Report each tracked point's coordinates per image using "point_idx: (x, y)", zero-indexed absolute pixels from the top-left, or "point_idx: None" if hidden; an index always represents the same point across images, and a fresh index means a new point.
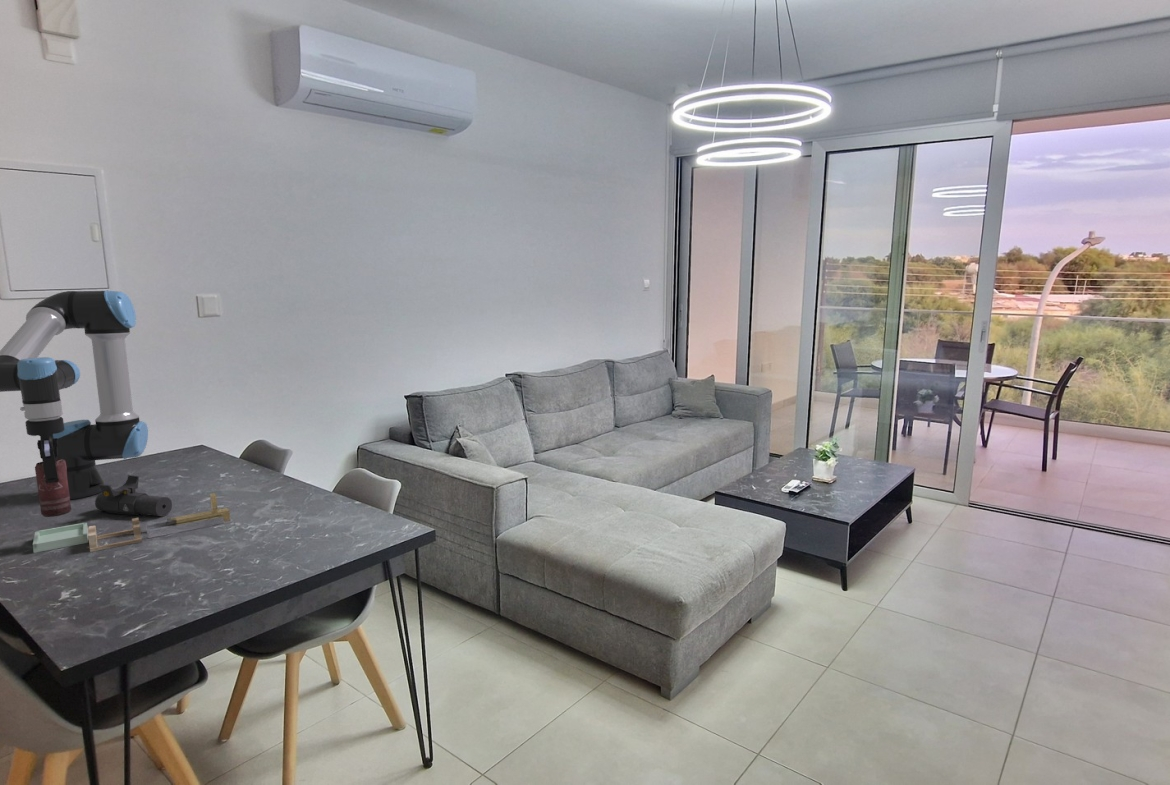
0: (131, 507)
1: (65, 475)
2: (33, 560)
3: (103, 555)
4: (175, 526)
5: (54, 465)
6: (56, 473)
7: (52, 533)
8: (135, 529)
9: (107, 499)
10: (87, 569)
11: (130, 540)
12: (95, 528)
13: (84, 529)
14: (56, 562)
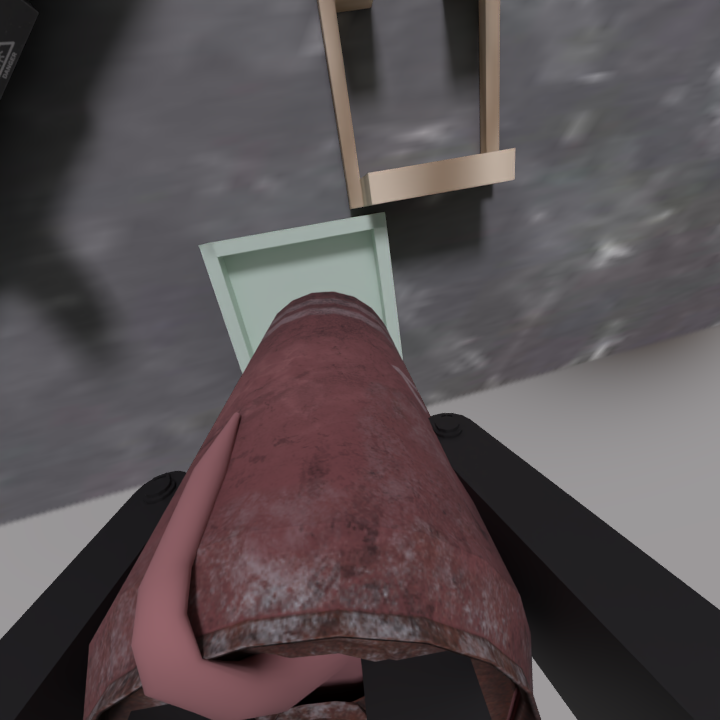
0: (8, 6)
1: (347, 394)
2: (465, 346)
3: (559, 125)
4: None
5: (716, 624)
6: (544, 481)
7: (253, 354)
8: None
9: None
10: (658, 163)
11: (490, 6)
12: (408, 166)
13: (305, 235)
14: (526, 277)
